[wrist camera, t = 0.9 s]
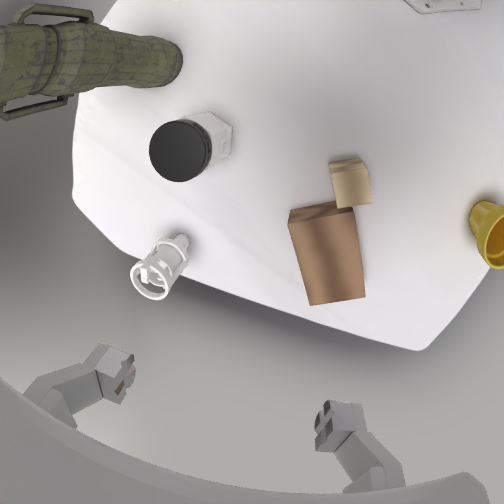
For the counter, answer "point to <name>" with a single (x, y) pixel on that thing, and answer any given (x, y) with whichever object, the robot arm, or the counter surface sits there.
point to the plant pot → (489, 232)
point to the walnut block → (327, 252)
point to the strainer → (162, 265)
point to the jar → (189, 146)
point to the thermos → (76, 59)
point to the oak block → (350, 182)
